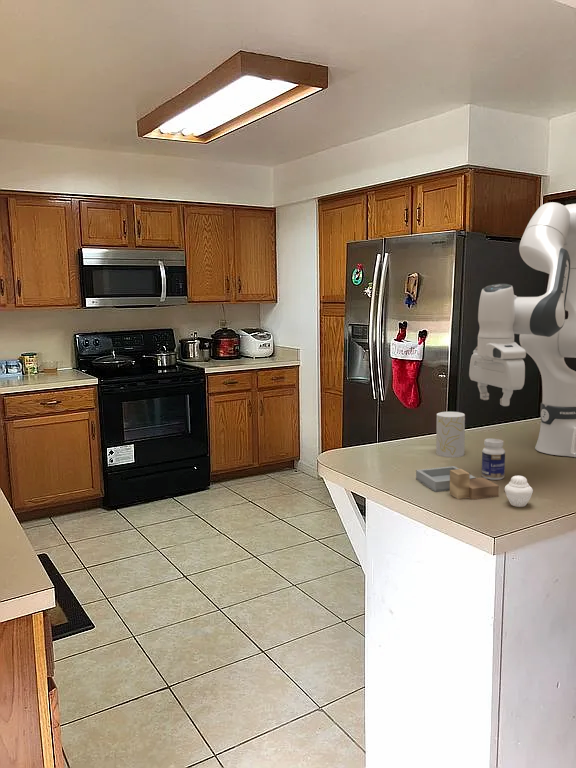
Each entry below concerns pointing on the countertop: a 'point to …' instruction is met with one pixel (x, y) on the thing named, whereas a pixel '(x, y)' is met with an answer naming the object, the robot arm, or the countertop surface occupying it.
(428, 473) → the tray
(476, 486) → the brown flat block
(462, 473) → the block
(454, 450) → the cup
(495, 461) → the pill bottle
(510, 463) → the countertop surface
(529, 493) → the white lidded jar
